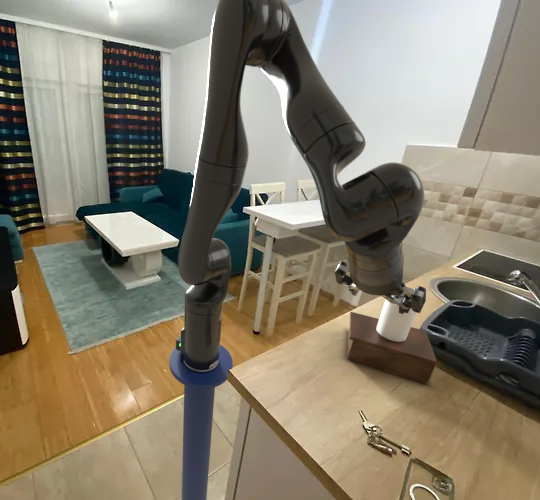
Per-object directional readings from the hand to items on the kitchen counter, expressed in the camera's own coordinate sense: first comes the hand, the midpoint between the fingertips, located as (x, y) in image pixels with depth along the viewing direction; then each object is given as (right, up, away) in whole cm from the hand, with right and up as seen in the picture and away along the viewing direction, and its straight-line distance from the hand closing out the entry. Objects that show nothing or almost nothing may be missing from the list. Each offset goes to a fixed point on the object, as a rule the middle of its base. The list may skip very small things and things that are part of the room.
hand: (378, 299), depth 58 cm
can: (+13, -11, +15) cm, 23 cm away
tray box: (+13, -18, +17) cm, 28 cm away
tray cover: (+12, -12, +15) cm, 23 cm away
